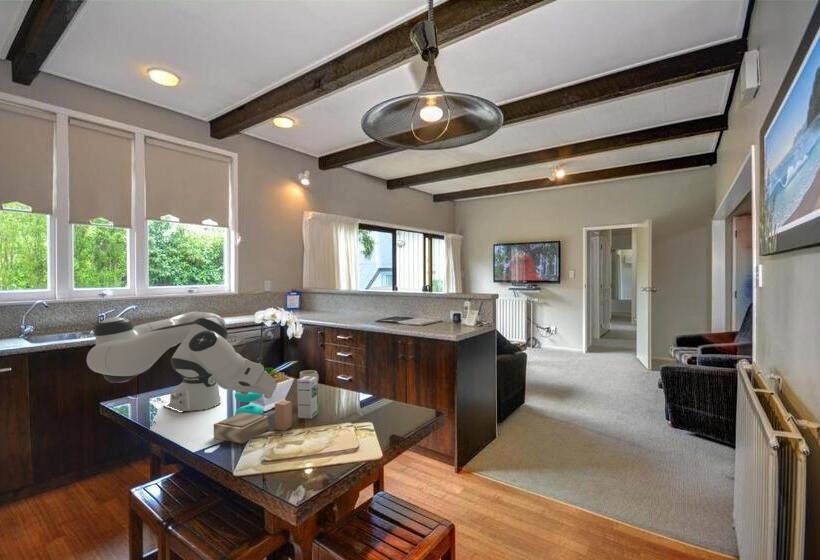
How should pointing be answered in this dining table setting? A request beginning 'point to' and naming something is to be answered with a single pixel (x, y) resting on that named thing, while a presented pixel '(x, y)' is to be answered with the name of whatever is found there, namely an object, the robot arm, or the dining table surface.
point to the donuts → (249, 408)
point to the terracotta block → (283, 415)
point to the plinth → (241, 427)
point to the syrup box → (307, 397)
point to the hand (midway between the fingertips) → (257, 394)
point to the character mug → (309, 374)
